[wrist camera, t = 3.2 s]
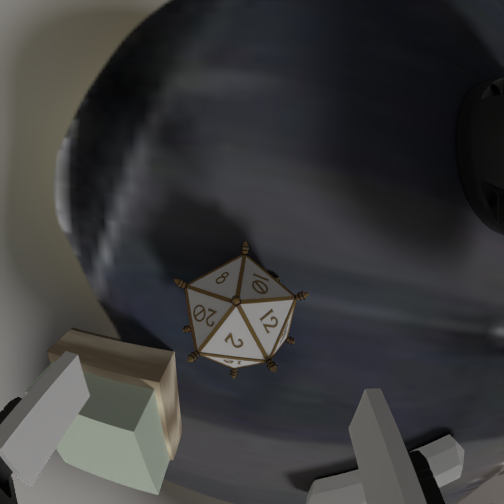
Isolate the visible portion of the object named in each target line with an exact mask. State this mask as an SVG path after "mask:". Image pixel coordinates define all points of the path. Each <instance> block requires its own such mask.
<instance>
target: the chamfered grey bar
mask: <svg viewBox="0 0 504 504" xmlns="http://www.w3.org/2000/svg"><path fill="white" fill-rule="evenodd" d="M416 450H419V451H420V452H421V453H422V454H423V455H424V456H425V457H426V459H427V461H428V463H429V466H430V470H432V473H433V475H434V476H433V477H435V480H436V482H437V485H438V487H441V486H444V485H446V484H448V483H450V482H452V481H454V480H456V479H458V478H460V476H461V472H462V468H463V460H464V449H463V448H462V447H461V446H460V445H459V444H458V443H457V441H456V440H455V439H454V438H453V437H452V436H451V435H450V434H449V435H446V436H444V437H442V438H440V439H438V440H436V441H434V442H432V443H429V444H427V445H425V446H422V447H420V448H418V449H415V450H413V451H416ZM410 452H411V451H410ZM306 504H367V503H366V498H365V494H364V489H363V485H362V481H361V477H360V473H359V469H357V470H354V471H350V472H347V473H343V474H339V475H335V476H331V477H326V478H322V479H317V480H315V481H314V482H313V483H312V485H311V488H310V490H309V493H308V496H307V500H306Z"/></svg>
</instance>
